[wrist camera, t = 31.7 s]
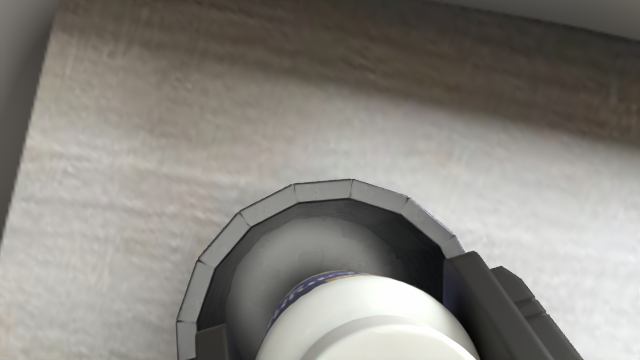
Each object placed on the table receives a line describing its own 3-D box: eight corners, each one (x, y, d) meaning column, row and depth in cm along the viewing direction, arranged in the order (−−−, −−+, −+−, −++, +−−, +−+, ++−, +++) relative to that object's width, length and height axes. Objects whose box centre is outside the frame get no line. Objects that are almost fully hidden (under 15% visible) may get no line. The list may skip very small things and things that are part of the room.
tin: (219, 439, 25) (185, 531, 17) (205, 213, 27) (168, 193, 18) (440, 411, 26) (513, 485, 18) (414, 194, 28) (469, 168, 19)
